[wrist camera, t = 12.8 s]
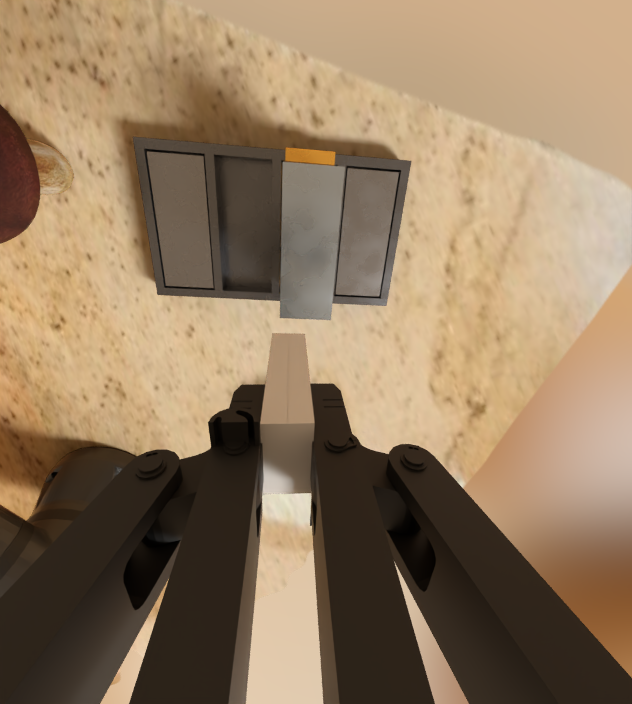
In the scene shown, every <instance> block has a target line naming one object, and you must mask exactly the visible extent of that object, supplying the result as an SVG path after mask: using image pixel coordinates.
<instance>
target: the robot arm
mask: <svg viewBox="0 0 632 704" xmlns="http://www.w3.org/2000/svg"><path fill="white" fill-rule="evenodd" d="M208 425H209V433H210V441H211V449H210V450H208V451H206V452H204V453H202V454H199V455H196V456H192V457H188V458H184V459H180V460H179V457H178V456H177V455H176V453H175V452H172V451H169V450H153V451H149V452H146V453H144V454H142V455H139V456H137V457H135V456H133V455H131V454H129V453H126V452H123V451H120V450H116V449H112V448H105V447H89V448H83V449H79V450H76V451H73V452H71V453H69V454H67V455H66V456H65V457H63V458H62V459H61V460H60V461H59V463H58V464H57V465H56V466H55V467H54V468H53V469H52V470H51V472H50V473H49V475H48V476H47V478H46V481H45V483H44V486H43V488H42V491H41V493H40V495H39V498H38V500H37V503H36V505H35V508H34V510H33V513H32V515H31V516H30V518H29V519H28V520H27V521H25V520H24V519H23V518H21V517H19V516H18V515H16V514H15V513H13V512H11V511H10V510H8V509H6V508H5V507H3V506H2V505H0V704H100V703H101V701H102V699H103V697H104V695H105V693H106V692H107V690H108V688H109V686H110V685H111V683H112V681H113V679H114V677H115V675H116V674H117V672H118V670H119V668H120V666H121V664H122V663H123V661H124V659H125V657H126V655H127V653H128V652H129V650H130V648H131V646H132V644H133V643H134V641H135V639H136V637H137V635H138V633H139V632H140V630H141V628H142V626H143V624H144V622H145V621H146V619H147V617H148V615H149V613H150V612H151V610H152V608H153V606H154V604H155V602H156V601H157V599H158V597H159V595H160V593H161V591H162V590H163V588H164V586H165V584H166V582H167V581H168V579H169V581H168V584H167V587H166V590H165V593H164V596H163V599H162V602H161V606H160V609H159V612H158V615H157V618H156V621H155V624H154V628H153V631H152V634H151V637H150V640H149V643H148V646H147V649H146V653H145V656H144V659H143V662H142V665H141V668H140V671H139V675H138V678H137V681H136V684H135V687H134V690H133V693H132V696H131V700H130V703H129V704H246V692H247V681H248V670H249V658H250V646H251V635H252V624H253V613H254V601H255V590H256V578H257V567H258V555H259V544H260V532H261V521H262V492H263V494H291V493H311V494H312V499H311V517H310V526H312V532H313V548H314V563H315V577H316V594H317V609H318V625H319V641H320V656H321V671H322V687H323V703H324V704H435V703H434V699H433V696H432V692H431V689H430V685H429V682H428V678H427V675H426V671H425V668H424V664H423V661H422V657H421V654H420V651H419V647H418V643H417V640H416V636H415V633H414V629H413V626H412V622H411V619H410V615H409V612H408V608H407V605H406V601H405V598H404V594H403V591H402V588H401V584H400V581H399V577H398V574H397V570H396V567H395V563H396V565H397V567H398V569H399V571H400V573H401V575H402V577H403V578H404V580H405V582H406V584H407V586H408V588H409V590H410V592H411V594H412V596H413V598H414V599H415V601H416V603H417V605H418V607H419V609H420V611H421V613H422V615H423V616H424V619H425V620H426V622H427V624H428V626H429V628H430V630H431V632H432V634H433V636H434V637H435V639H436V641H437V643H438V645H439V647H440V649H441V651H442V653H443V655H444V657H445V659H446V660H447V662H448V664H449V666H450V668H451V670H452V672H453V674H454V676H455V677H456V680H457V681H458V683H459V685H460V687H461V689H462V691H463V693H464V695H465V697H466V699H467V701H468V702H469V704H632V678H631V677H630V676H629V675H628V673H627V672H626V671H625V670H624V669H623V668H622V667H621V666H620V664H619V663H618V662H617V661H616V660H615V659H614V658H613V657H612V656H611V654H610V653H609V652H608V651H607V650H606V649H605V648H604V646H603V645H602V644H601V643H600V642H599V641H598V640H597V639H596V638H595V636H594V635H593V634H592V633H591V632H590V631H589V630H588V628H587V627H586V626H585V625H584V624H583V623H582V622H581V621H580V619H579V618H578V617H577V616H576V615H575V614H574V613H573V612H572V611H571V610H570V609H569V607H568V606H567V605H566V604H565V603H564V602H563V600H562V599H561V598H560V597H559V596H558V595H557V594H556V593H555V592H554V590H553V589H552V588H551V587H550V586H549V585H548V584H547V582H546V581H545V580H544V579H543V578H542V577H541V576H540V575H539V574H538V572H537V571H536V570H535V569H534V568H533V567H532V566H531V564H530V563H529V562H528V561H527V560H526V559H525V558H524V557H523V556H522V554H521V553H520V552H519V551H518V550H517V549H516V548H515V547H514V545H513V544H512V543H511V542H510V541H509V540H508V539H507V538H506V536H505V535H504V534H503V533H502V532H501V531H500V530H499V529H498V527H497V526H496V525H495V524H494V523H493V522H492V521H491V520H490V519H489V518H488V516H487V515H486V514H485V513H484V512H483V511H482V509H480V507H479V506H478V505H477V504H476V503H475V502H474V500H473V499H472V498H471V497H470V496H469V495H468V494H467V493H466V492H465V490H464V489H463V488H462V487H461V486H460V485H459V484H458V483H457V481H456V480H455V479H454V478H453V477H452V476H451V475H450V474H449V472H448V471H447V470H446V469H445V468H444V467H443V466H442V465H441V463H440V462H439V461H438V460H437V459H436V458H435V457H434V456H433V455H432V454H431V453H430V452H428V451H427V450H425V449H423V448H421V447H419V446H416V445H411V444H400V445H398V446H395V447H393V449H392V450H391V451H390V452H389V454H385V453H381V452H376V451H373V450H370V449H367V448H365V447H364V446H362V445H361V444H360V442H359V440H358V439H357V437H355V436H354V435H353V434H352V432H351V428H350V424H349V421H348V417H347V413H346V409H345V406H344V402H343V398H342V394H341V391H340V390H339V389H338V388H337V387H336V386H335V385H334V384H310V377H309V368H308V359H307V350H306V341H305V334H279V333H272V340H271V348H270V355H269V362H268V370H267V377H266V384H265V385H241V386H240V387H239V388H238V389H237V390H236V391H235V392H234V394H233V397H232V400H231V404H230V407H229V409H226V410H223V411H220V412H218V413H217V414H215V415H214V416H212V418H211V419H210V421H209V422H208ZM394 561H395V563H394Z"/></svg>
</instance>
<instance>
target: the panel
mask: <svg viewBox="0 0 632 704" xmlns="http://www.w3.org/2000/svg"><path fill="white" fill-rule="evenodd" d="M344 172H345V167H341V166H329V165H317V164H305V163H293V162H283V173H282V229H281V286H280V318H295V319H317V320H331V312H332V301H333V290H334V279H335V269H336V258H337V247H338V237H339V226H340V215H341V204H342V194H343V183H344Z"/></svg>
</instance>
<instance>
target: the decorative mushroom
mask: <svg viewBox="0 0 632 704" xmlns="http://www.w3.org/2000/svg"><path fill="white" fill-rule="evenodd" d="M73 178H74V174H73V170H72V169H71V166H70V164H69V163H68V161H67V160H66V159H65V157H64V156H63V155H62V154H61V153H59V152H58V151H57V150H55V149H54V148H52V147H50V146H48V145H46V144H44V143H41V142H39V141H35V140H31V139H26V137H25V135H24V134H23V132H22V131H21V129H20V127H19V126H18V124H17V123H16V121H15V120H14V119H13V118H12V116H11V115H10V114H9V113H8V112H7V111H6V110H5V109H4V108H3V107H2V106H1V105H0V243H3V242H6V241H8V240H10V239H12V238H14V237H16V236H17V235H19V234H20V233H22V232H23V231H24V230H26V229H27V228H28V226H29V225H30V224H31V222H32V221H33V219H34V218H35V215H36V212H37V209H38V206H39V200H40V195H55V194H60V193H62V192H64V191H66V190H67V189H68V188H69V187H70V186H71V184H72V181H73Z"/></svg>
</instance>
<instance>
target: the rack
mask: <svg viewBox="0 0 632 704" xmlns="http://www.w3.org/2000/svg"><path fill="white" fill-rule="evenodd" d="M133 142H134V148H135V155H136V161H137V167H138V174H139V180H140V186H141V193H142V199H143V205H144V212H145V218H146V224H147V231H148V237H149V243H150V250H151V256H152V262H153V269H154V275H155V281H156V288H157V294H158V295H171V296H192V297H212V298H233V299H254V300H275V301H280V286H281V229H282V173H283V162H293V163H305V164H317V165H329V166H341V167H345V172H344V183H343V194H342V204H341V215H340V226H339V237H338V247H337V258H336V269H335V279H334V290H333V301H332V303H337V304H357V305H378V306H386V305H387V299H388V293H389V288H390V282H391V276H392V270H393V264H394V259H395V253H396V247H397V241H398V235H399V229H400V224H401V218H402V212H403V206H404V200H405V195H406V189H407V183H408V177H409V171H410V165H411V161H406V160H395V159H383V158H372V157H360V156H349V155H337V154H335V152H332V151H321V150H309V149H298V148H286V150H280V149H268V148H256V147H245V146H233V145H222V144H210V143H199V142H187V141H176V140H164V139H153V138H141V137H133Z"/></svg>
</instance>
